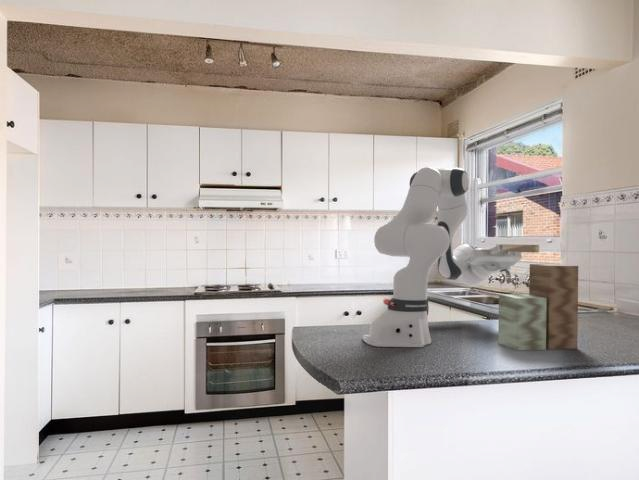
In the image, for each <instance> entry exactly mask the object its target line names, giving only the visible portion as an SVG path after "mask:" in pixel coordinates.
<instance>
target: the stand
mask: <svg viewBox="0 0 639 480" xmlns="http://www.w3.org/2000/svg"><path fill="white" fill-rule="evenodd" d="M528 283H529V284H528V285H529V286H528V287H529V294H527V293H526V294H525V293H521V294H520V293H516V294H514V293H513V294H510V293H508V294H506V293H505V294H504V293H503V294H501V293H499V294H498V333H497V334H498V338H497V340H498V341H497V342H498V344H499V345H501V346H504V347H507V348H509V349H512V350H514V351H537V350H538V351H542V350H543V351H545V350H571V349H572V350H573V349H574V350H575V349H578V325H579V324H578V323H579V322H578V321H579V319H578V318H579V316H578V315H579V309H578V308H579V265H569V264H558V263H557V264H556V263H553V264H552V263H549V264H548V263H544V264H543V263H540V264H539V263H536V264H535V263H530V264H529V282H528Z"/></svg>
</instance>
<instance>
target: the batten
mask: <svg viewBox="0 0 639 480" xmlns="http://www.w3.org/2000/svg"><path fill="white" fill-rule="evenodd" d="M497 245H501V247H502V249H501V250H500V251H507V252H521V253H533V254H534V253H540V244H505V243H504V244H501V243H500V244H498V243H497V244H495V247H496V246H497Z"/></svg>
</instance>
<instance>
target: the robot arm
mask: <svg viewBox="0 0 639 480" xmlns="http://www.w3.org/2000/svg"><path fill="white" fill-rule="evenodd" d="M469 182H470V180H469V175H468V173H467V172H466V170H464V168H460V167H453V168H449V167H448V168H434V167H431V166H430V167H429V166H427V167H422V168H421V169H419V170H417V172H414V173H413V174H412V175H411V176H410V179H409V189H408V192H407V195H406V198H405V200H404V203H403V205H402V208H400V211H399V212H398V213H397V214H396V215H395V216H394V217H393V219H391V220H390V221H388V222H387V223H386V224H384V225H382V226H380V227H379V228H378V229H377V230H376V232H375V234H374V236H373V237H374V238H373V240H374V247H375V249H376V250H377V252H378V253H380V254H382V255H385V256H389V257H401V258H402V257H403V258H405V257H406V258H409V260H408V264H407V265H406V266H405V267H403V268H401V269H398V270H397V271H396V273H395V274H394V276H393V289H392V290H393V297H391V299H388V298H383V304H384V305H386V306H387V309H386V310H385V311H383V313H381V314H380V315H378V316H377V317H376V318H374V319H373V320H372V322H371V324H370V328H369V334H364V335H363V337H362V340H363V342H365V343H366V344H367V345H370V346H372V347H373V346H374V347H379V348H380V347H383V348H385V347H386V348H387V347H388V348H389V347H391V348H392V347H393V348H423V347H425V346H427V345H430V344H431V343H432V339H431V334H430V329H429V328H430V327H429V319H428V316H429V309H430V307H429V299H428V284H429V276H430V272H431V269H432V268H433V266H434V265H435V263H436V262H437V269H438V270H437V271H438V272H439V274H440V276H441V277H442V278H444V279H446V280H451V281H455V280H458V278H459V277H460V276H461V275H462V281H463V283H464V284H465V285H466V286H468V287H473V288H474V287H478V286H480V285H482V284H483V283H485V282H486V281H487V280H488V279H489V277H491V276H493V275H494V274H498V273H502V272H507V271H510V270H511V267H513V266H515V265H516V264H517V263H519V262H520V261H521V260H522V258H523V255H522V252H507V251H500V250H501V249H502V247H501V245H497V246H496V245H495V246H493V247H491V248H475V247H474V246H472V245H470V244H468V243H461V244H459V246H457V247H456V248H454V247H453V238H454V235H455V233H456V232H457V230H458V228H460V226H461V225H462V223H464V221H465V219H466V217H467V213H468V206H467V200H466V197H465V193H466V192H468V189H469V186H470V185H469V184H470V183H469ZM437 213H438V215H437V216H438V217H437V218H438V219H437V224H432V223H430V222H431V221H432V220H433V219H434V218H435V216H436V214H437Z"/></svg>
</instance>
